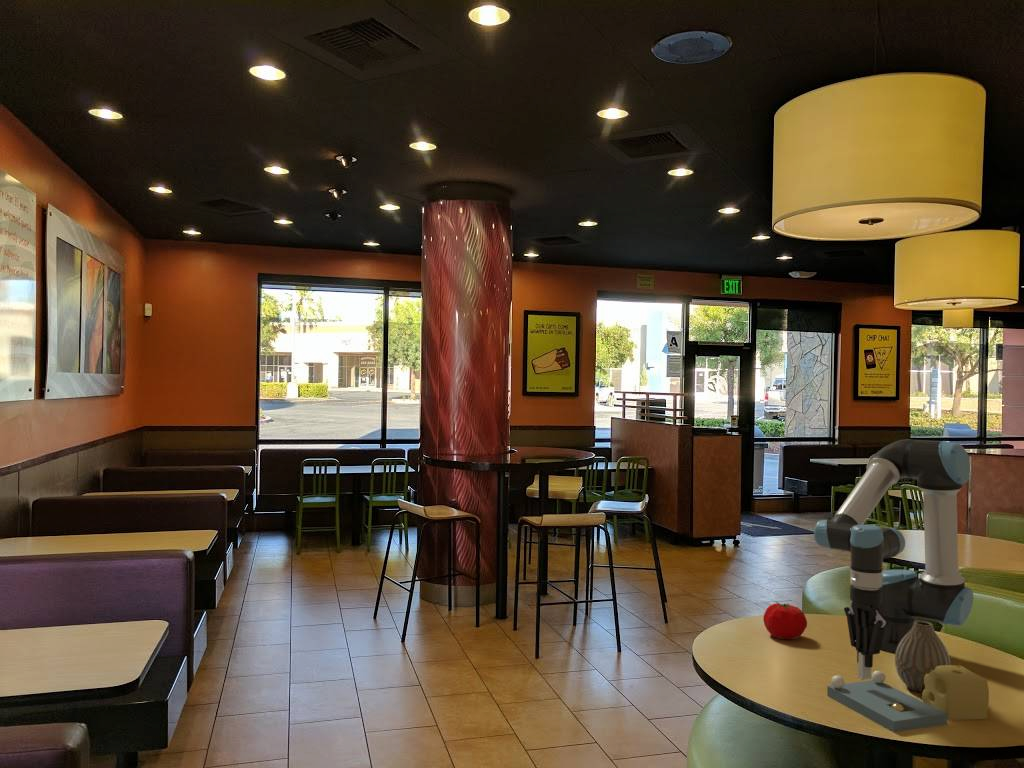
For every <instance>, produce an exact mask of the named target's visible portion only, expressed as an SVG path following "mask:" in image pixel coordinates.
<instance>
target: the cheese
mask: <svg viewBox="0 0 1024 768" xmlns="http://www.w3.org/2000/svg"><path fill="white" fill-rule="evenodd" d="M924 684H925V690H924V691H923V693H921V695H922V696H921V698H922V702H924V703H926V704H928V705H931V706H933V707H935V708H937V709H939V710H941V711H943V712H945V713H947V721H963V720H964V721H965V720H966V721H969V720H971V721H972V720H986V719H987V717H988V716H987V715H988V713H989V703H990V702H989V701H990V691H989V690H990V689H989V685H988V680H987V679H986V678H985V677H982V676H981V675H979V674H977V673H975V672H973V671H970V670H969V669H967V668H966V667H964V666H963V665H958V664H957V665H956V664H955V665H954V664H951V665H942V666H937V667H936V668H935V670H932V671H931V672H930V673H929V674H926V675H925V677H924Z"/></svg>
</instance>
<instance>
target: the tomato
mask: <svg viewBox="0 0 1024 768" xmlns="http://www.w3.org/2000/svg"><path fill="white" fill-rule="evenodd" d="M762 619H763V620H762V621H763V624H764V627H765V629H766V631H767V632H768V633H769V634H770V635H771V636H773V637H775V638H777V639H781V640H794V639H797V638H799V637H800V636H801V635H803V634H804V633H805V630H806V629H807V626H808V621H807V618H806V615H805V613H804V611H802V609H800V608H799V607H798V606H794V605H791V604H790V603H783V604H782V603H779V602H777V601H775V603H773V604H770V605H768V607H766V609H765V611H764V613H763V618H762Z"/></svg>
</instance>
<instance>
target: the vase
mask: <svg viewBox="0 0 1024 768" xmlns="http://www.w3.org/2000/svg"><path fill="white" fill-rule="evenodd" d="M894 654H895V655H894V666H895V670H896V673H897V675H898V677H899V679H900V680H901V681H902V682H903V684H905V686H907V688H908V689H909V690H911V691H914V692H917V693H921V694H922V693H923V691H924V690H925V684H924V677H925V675H926V674H929V673H930V672H931V671H932V670H935V668H936V667H937V666H942V665H952V664H951V657H950V654H949V651H948V649H947V647H946V645H945V644H944V643H943V641H942V639H941V638H940V636H939V635H938V634H937V633H936V631H935V629H934V625H933V623H932V622H929V621H925V620H916V621H915V622H914V625H913V627H912V628H911V629H910V630H909V631H908V632H907V633H906V634H905V636H904V637H903V638H902V639H901V640H900V642H899V644H898V646H897V649H896V653H895V652H894Z"/></svg>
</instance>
